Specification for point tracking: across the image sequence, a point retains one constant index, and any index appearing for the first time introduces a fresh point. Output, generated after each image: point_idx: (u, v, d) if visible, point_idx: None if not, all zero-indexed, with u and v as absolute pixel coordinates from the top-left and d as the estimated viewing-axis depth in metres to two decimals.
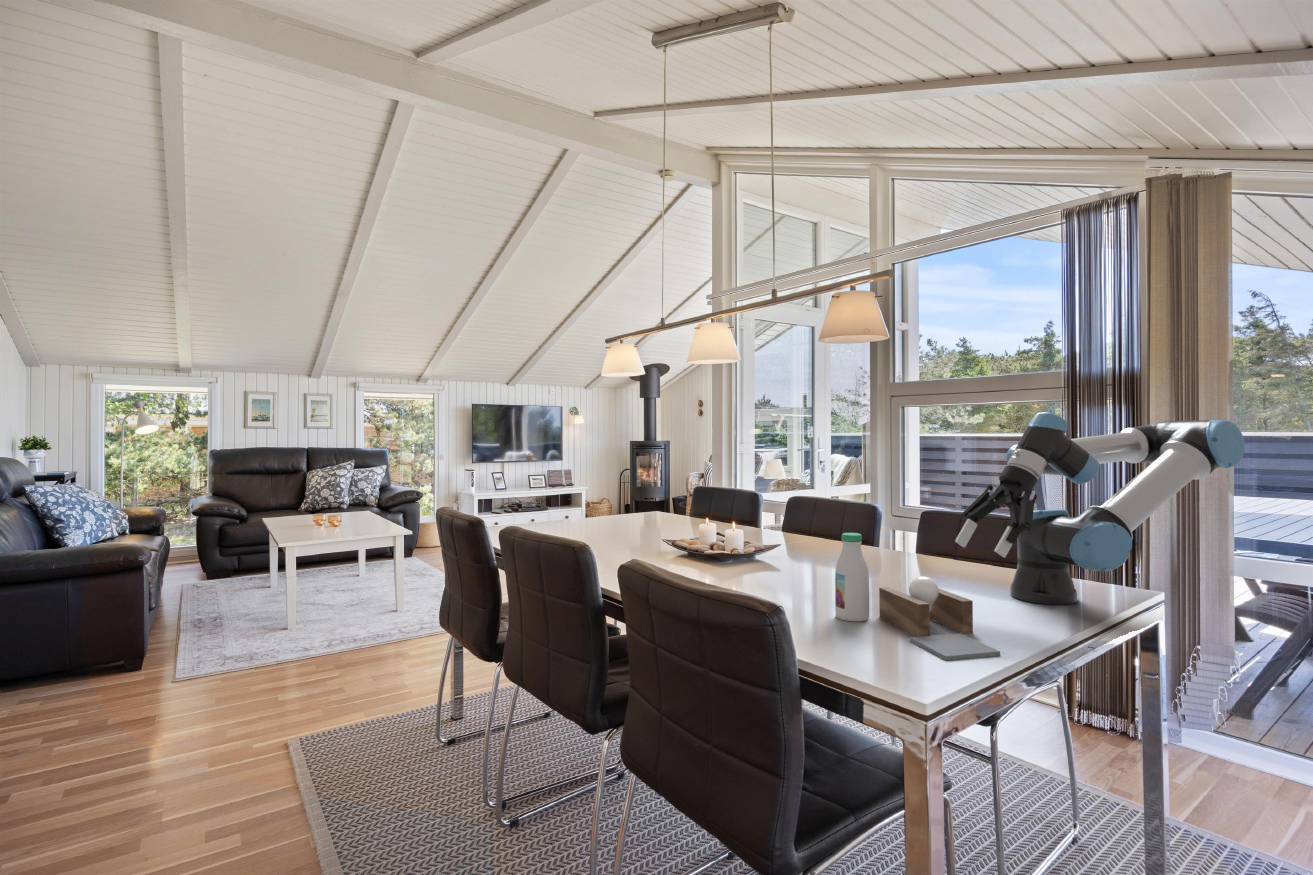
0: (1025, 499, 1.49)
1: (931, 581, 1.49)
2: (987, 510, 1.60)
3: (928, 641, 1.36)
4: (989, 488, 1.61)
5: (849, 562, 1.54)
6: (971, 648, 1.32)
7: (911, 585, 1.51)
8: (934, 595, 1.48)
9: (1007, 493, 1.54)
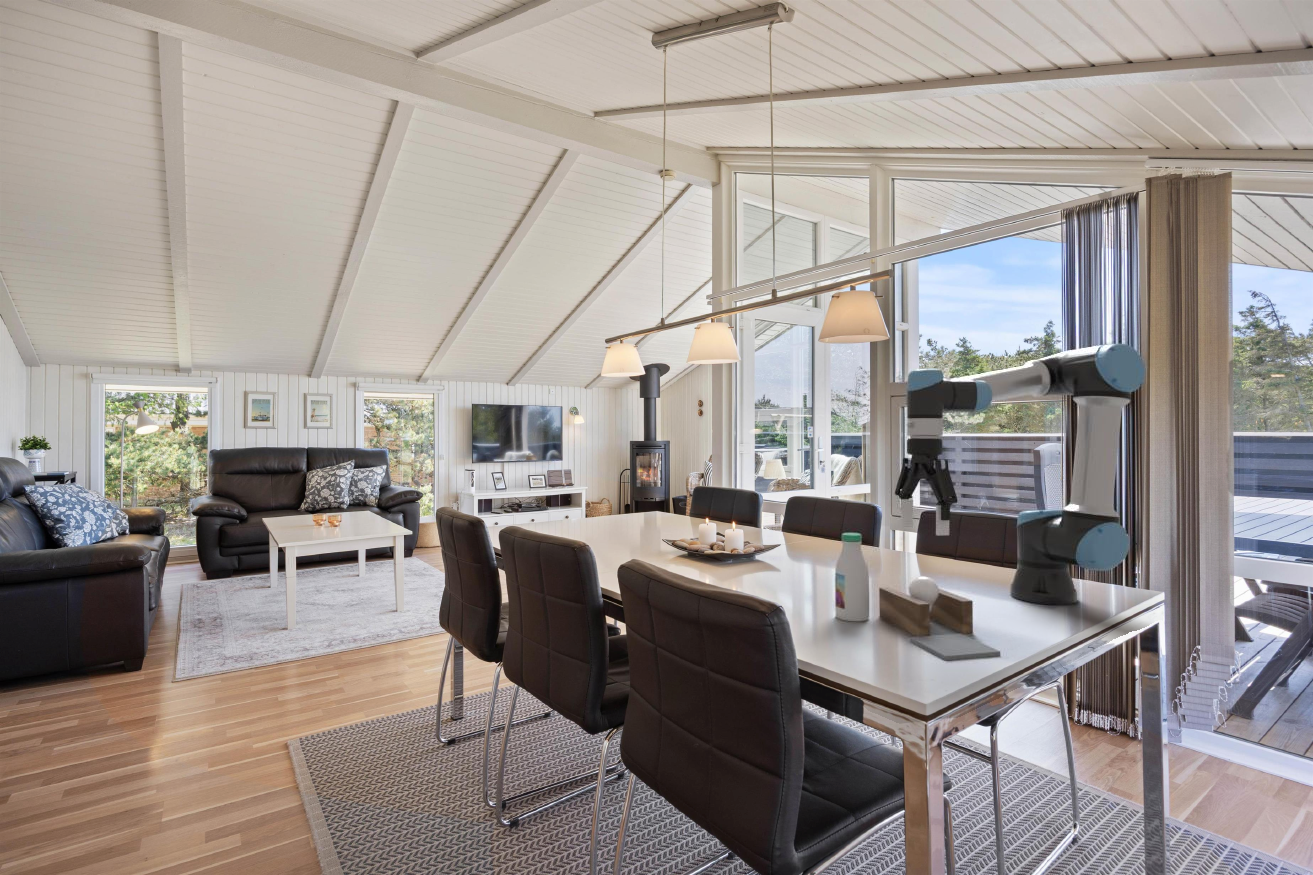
0: (938, 472, 1.44)
1: (931, 581, 1.49)
2: (914, 484, 1.55)
3: (928, 641, 1.36)
4: (905, 462, 1.56)
5: (849, 562, 1.54)
6: (971, 648, 1.32)
7: (911, 585, 1.51)
8: (934, 595, 1.48)
9: (921, 468, 1.49)
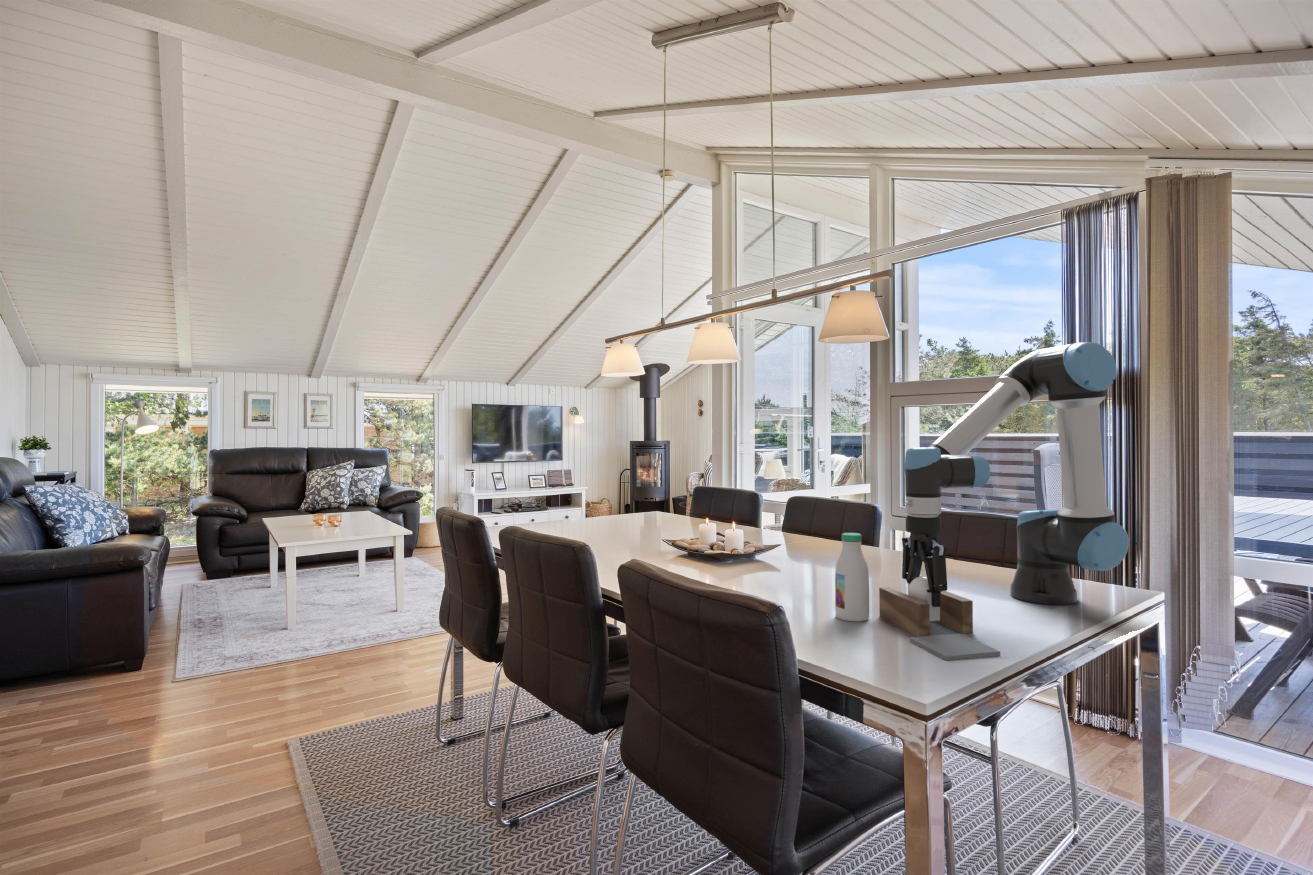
0: (935, 559, 1.45)
1: None
2: (918, 564, 1.53)
3: (928, 641, 1.36)
4: (904, 541, 1.56)
5: (849, 562, 1.54)
6: (971, 648, 1.32)
7: (911, 585, 1.51)
8: None
9: (919, 547, 1.49)
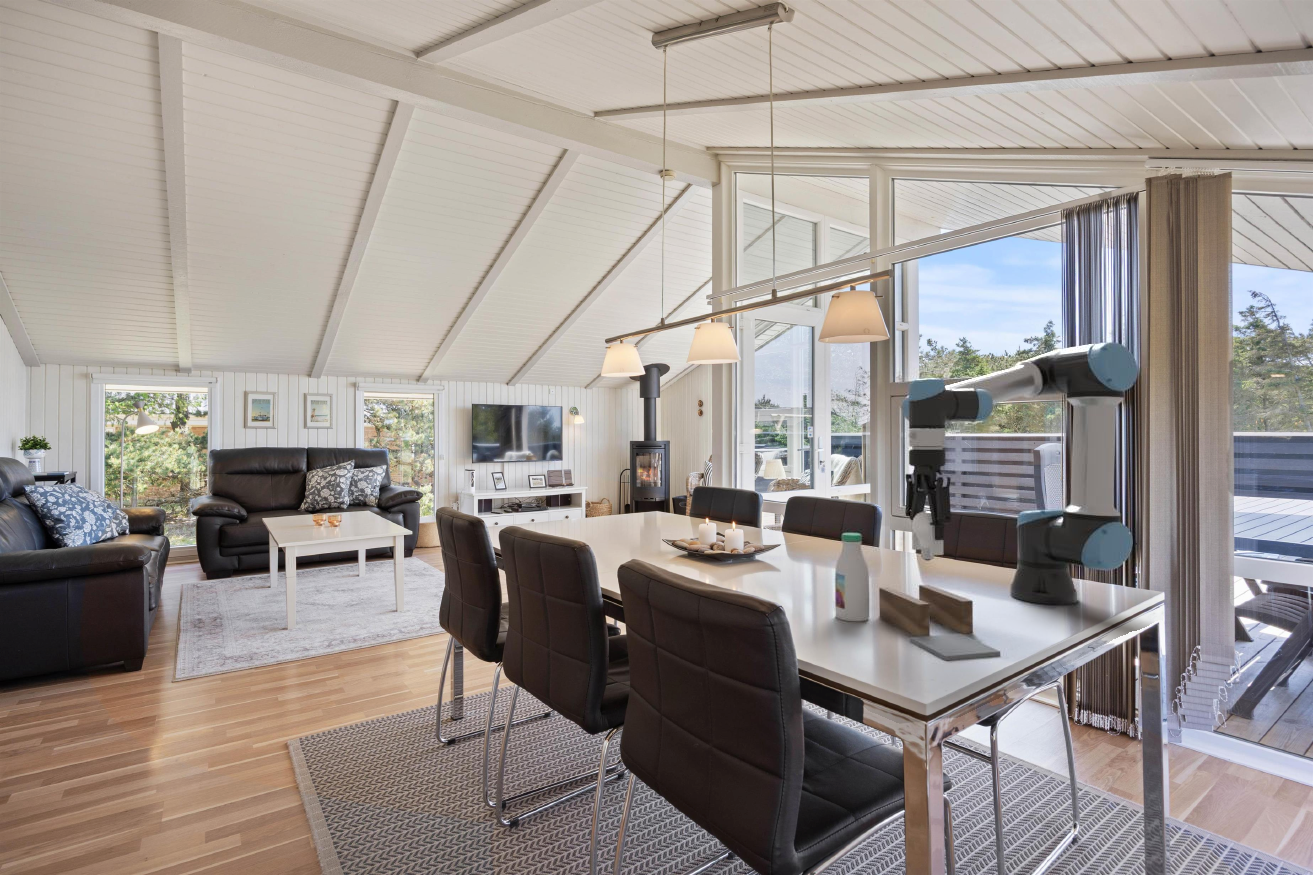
0: (938, 490, 1.41)
1: None
2: (921, 500, 1.50)
3: (928, 641, 1.36)
4: (908, 477, 1.53)
5: (849, 562, 1.54)
6: (971, 648, 1.32)
7: (914, 520, 1.47)
8: None
9: (923, 480, 1.46)
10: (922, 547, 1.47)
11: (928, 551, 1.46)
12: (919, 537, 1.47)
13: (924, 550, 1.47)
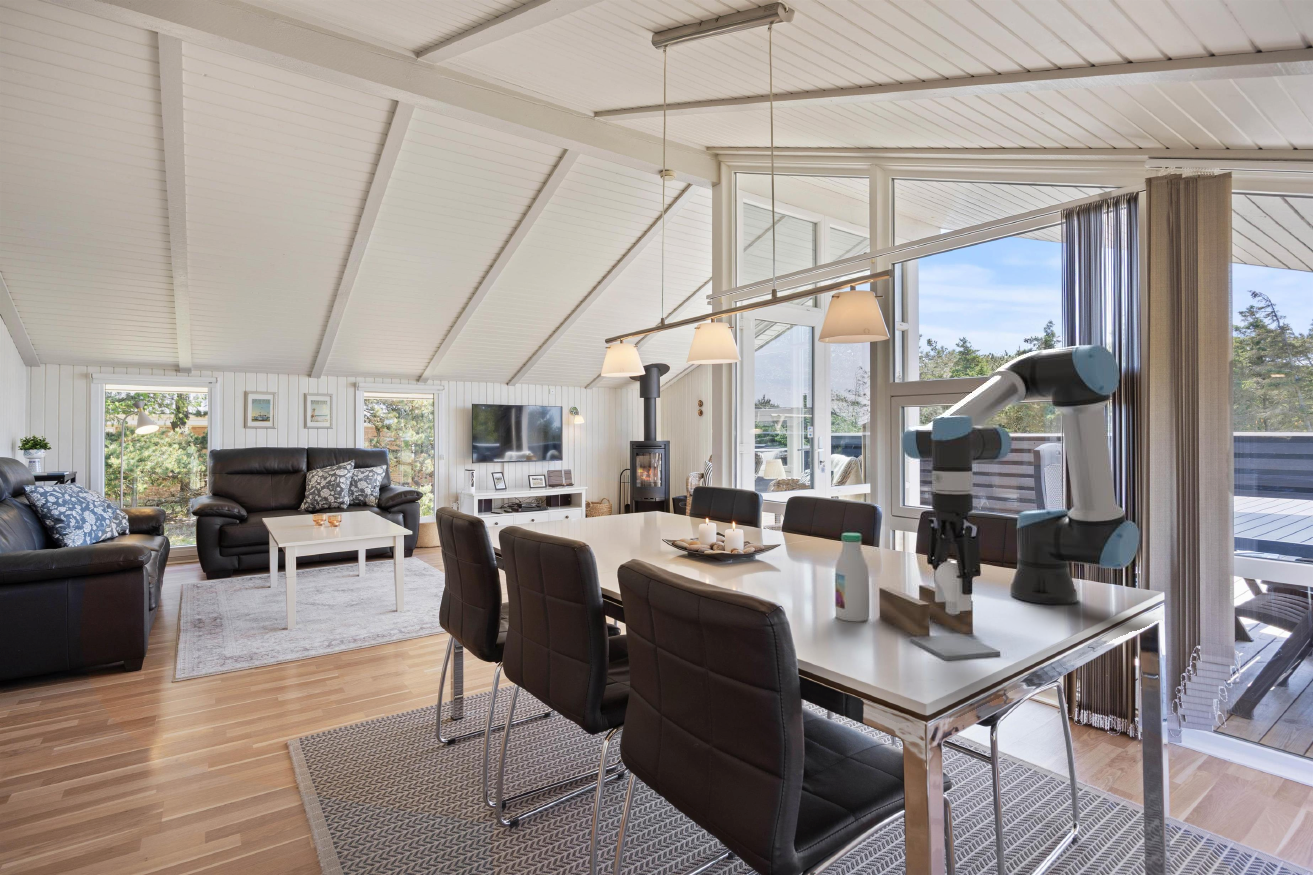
0: (967, 540, 1.28)
1: None
2: (946, 547, 1.37)
3: (928, 641, 1.36)
4: (930, 522, 1.39)
5: (849, 562, 1.54)
6: (971, 648, 1.32)
7: (938, 570, 1.34)
8: None
9: (948, 528, 1.32)
10: (947, 600, 1.34)
11: (954, 605, 1.33)
12: (944, 590, 1.33)
13: (949, 604, 1.33)
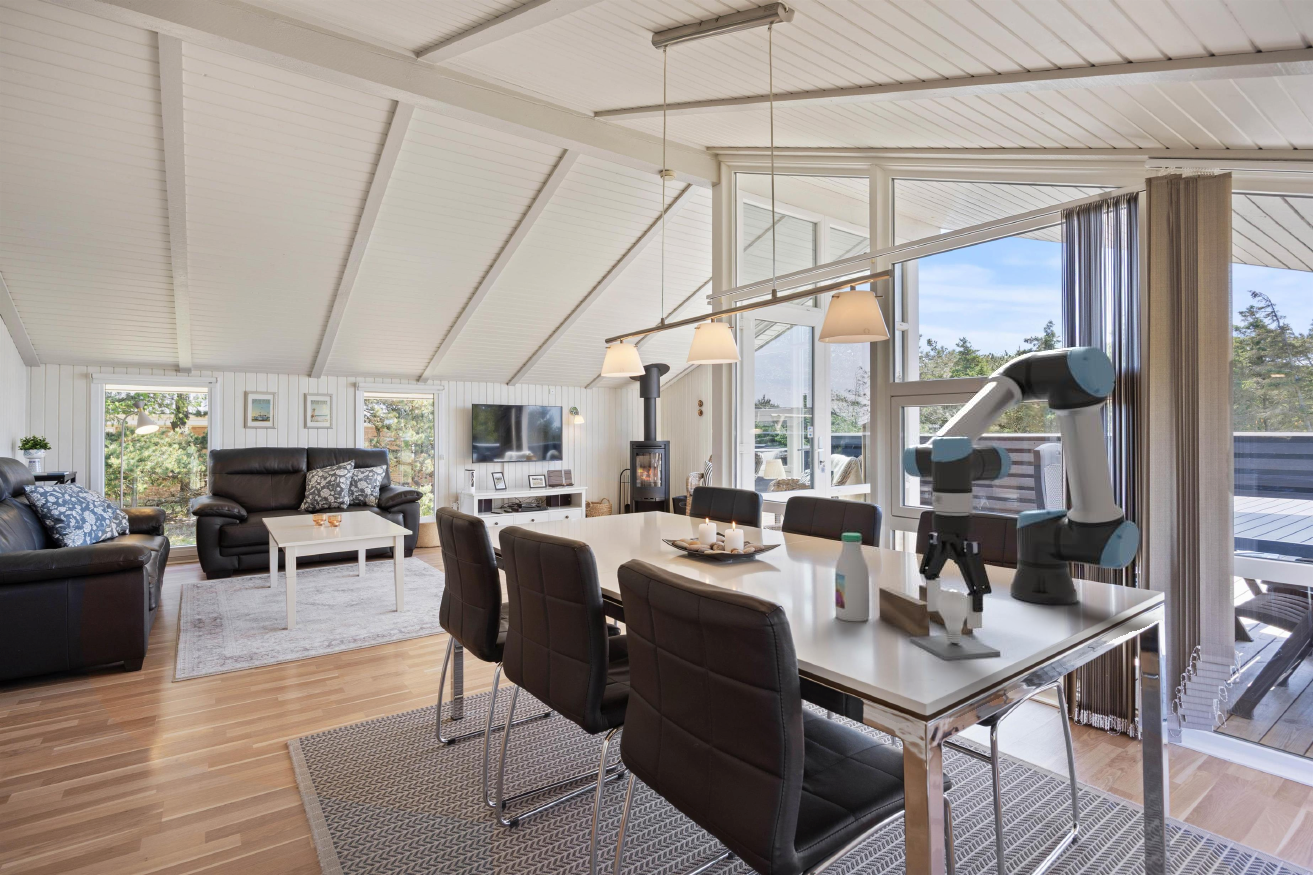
0: (970, 557, 1.27)
1: (961, 594, 1.33)
2: (941, 563, 1.38)
3: (928, 641, 1.36)
4: (930, 537, 1.40)
5: (849, 562, 1.54)
6: (971, 648, 1.32)
7: (939, 599, 1.34)
8: (965, 610, 1.31)
9: (949, 549, 1.32)
10: (949, 630, 1.34)
11: (955, 634, 1.33)
12: (945, 619, 1.34)
13: (951, 633, 1.33)
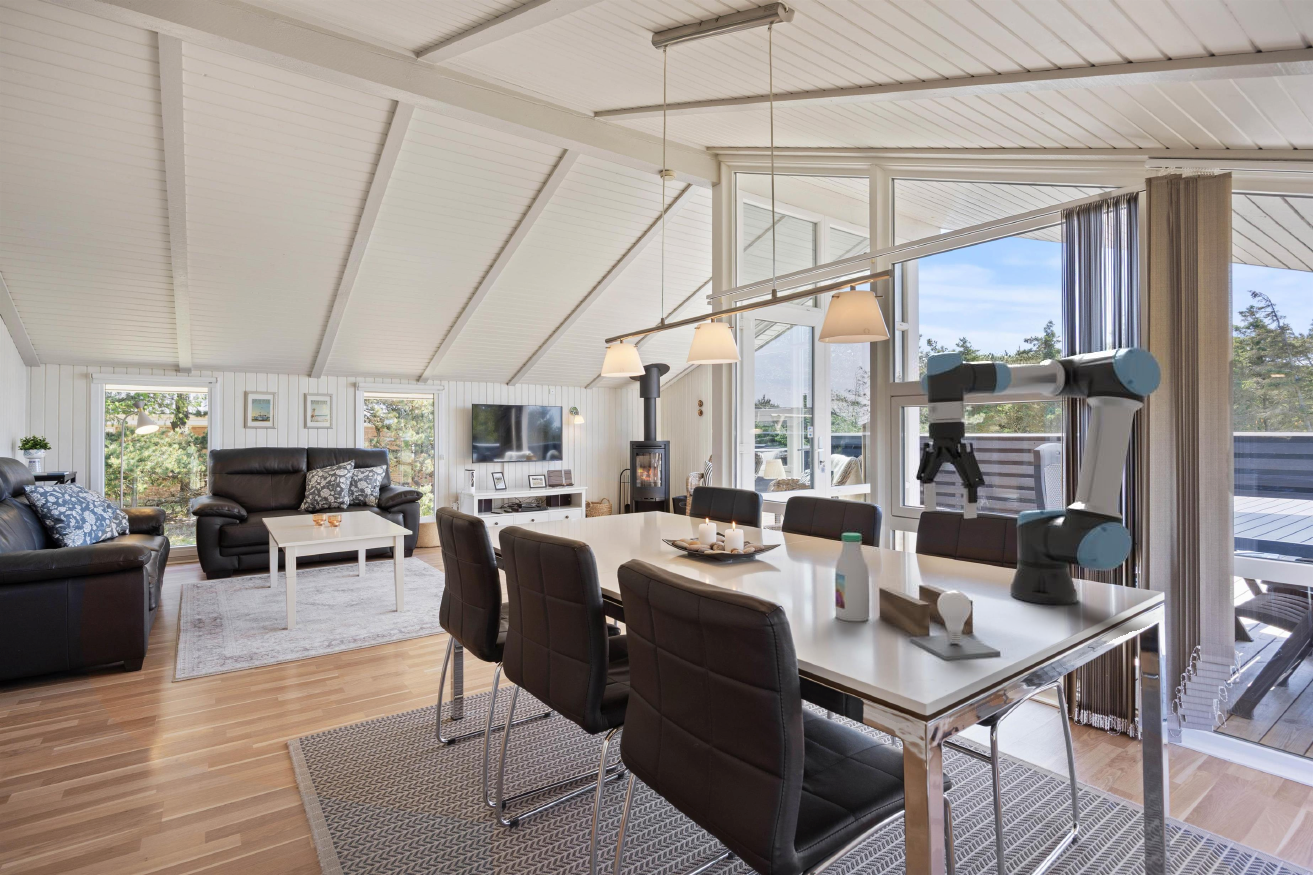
0: (964, 455, 1.44)
1: (963, 596, 1.32)
2: (936, 468, 1.55)
3: (928, 641, 1.36)
4: (926, 446, 1.56)
5: (849, 562, 1.54)
6: (971, 648, 1.32)
7: (940, 600, 1.34)
8: (966, 612, 1.31)
9: (945, 452, 1.49)
10: (949, 630, 1.33)
11: (956, 635, 1.33)
12: (946, 619, 1.33)
13: (951, 634, 1.33)
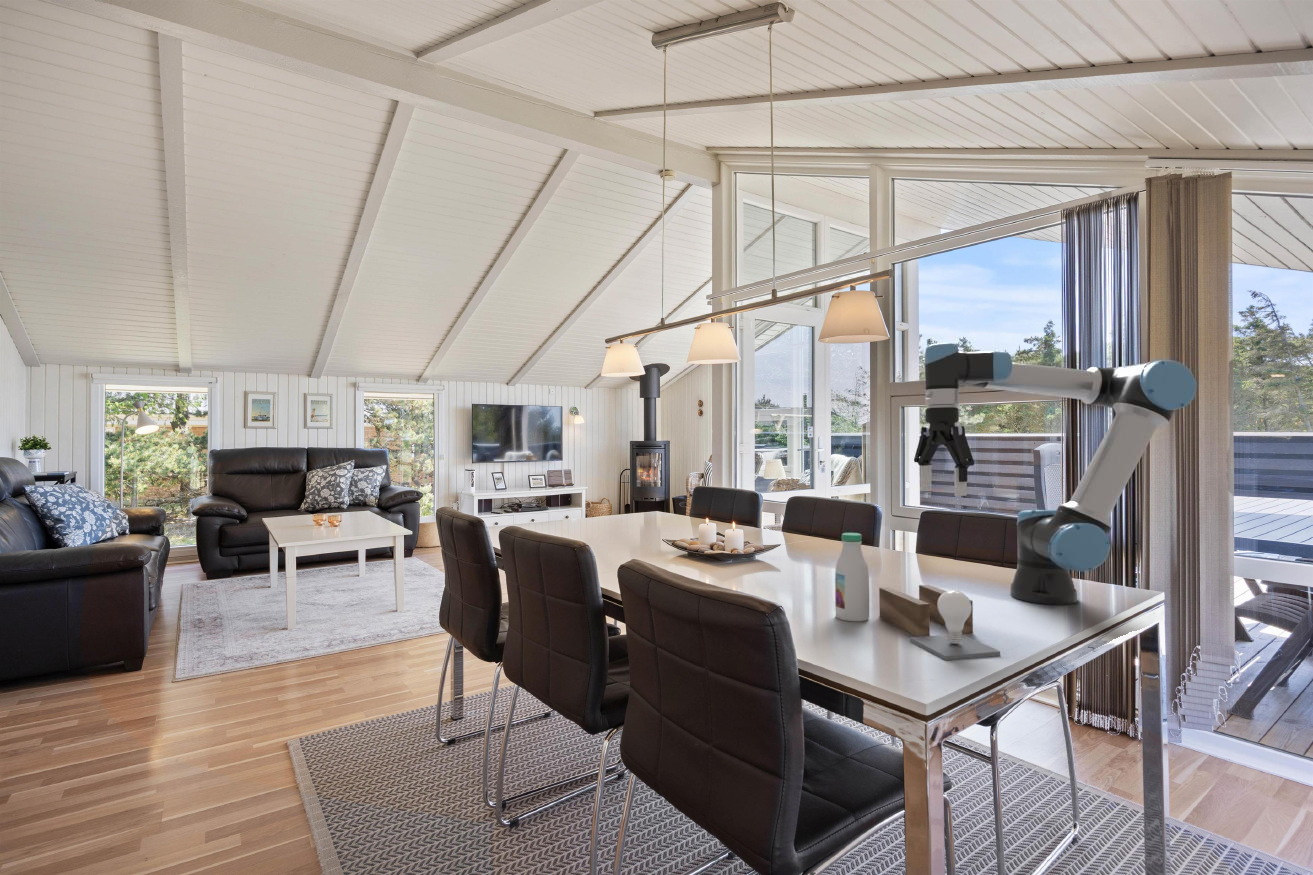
0: (956, 437, 1.56)
1: (963, 596, 1.32)
2: (932, 451, 1.67)
3: (928, 641, 1.36)
4: (923, 430, 1.68)
5: (849, 562, 1.54)
6: (971, 648, 1.32)
7: (940, 600, 1.34)
8: (966, 612, 1.31)
9: (939, 435, 1.61)
10: (949, 630, 1.33)
11: (956, 635, 1.33)
12: (946, 619, 1.33)
13: (951, 634, 1.33)
